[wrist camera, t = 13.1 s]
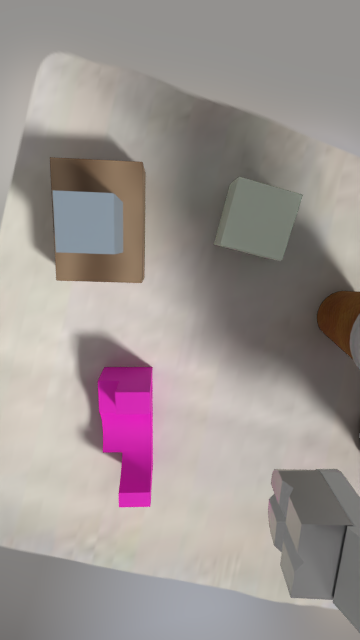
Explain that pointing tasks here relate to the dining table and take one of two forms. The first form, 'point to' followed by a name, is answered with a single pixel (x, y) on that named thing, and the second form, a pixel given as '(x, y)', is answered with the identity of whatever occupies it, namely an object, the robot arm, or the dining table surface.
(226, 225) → the sage block
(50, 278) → the dining table surface
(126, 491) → the toy block
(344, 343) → the disposable coffee cup
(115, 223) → the slate block
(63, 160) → the walnut pedestal
